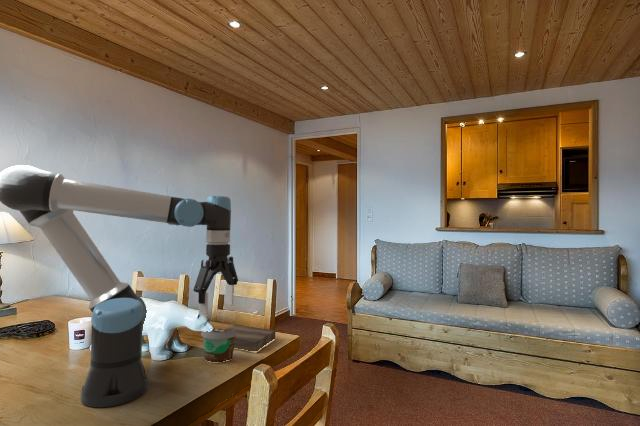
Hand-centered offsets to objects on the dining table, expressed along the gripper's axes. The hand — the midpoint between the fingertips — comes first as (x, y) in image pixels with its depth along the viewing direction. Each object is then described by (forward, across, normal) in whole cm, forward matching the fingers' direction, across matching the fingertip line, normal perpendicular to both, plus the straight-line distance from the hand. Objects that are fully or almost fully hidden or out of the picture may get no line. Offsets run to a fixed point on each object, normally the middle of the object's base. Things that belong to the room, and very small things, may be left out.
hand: (217, 308), depth 117 cm
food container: (+17, 0, 0) cm, 17 cm away
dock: (+17, +18, 0) cm, 24 cm away
